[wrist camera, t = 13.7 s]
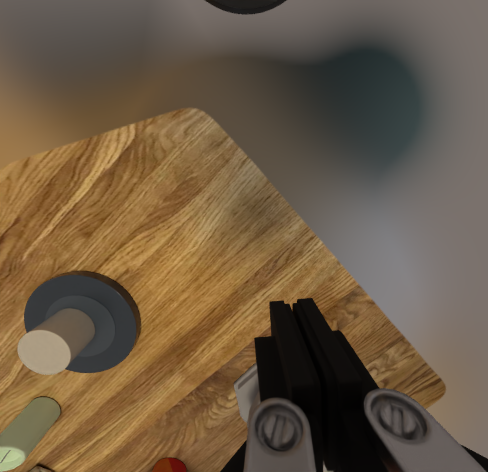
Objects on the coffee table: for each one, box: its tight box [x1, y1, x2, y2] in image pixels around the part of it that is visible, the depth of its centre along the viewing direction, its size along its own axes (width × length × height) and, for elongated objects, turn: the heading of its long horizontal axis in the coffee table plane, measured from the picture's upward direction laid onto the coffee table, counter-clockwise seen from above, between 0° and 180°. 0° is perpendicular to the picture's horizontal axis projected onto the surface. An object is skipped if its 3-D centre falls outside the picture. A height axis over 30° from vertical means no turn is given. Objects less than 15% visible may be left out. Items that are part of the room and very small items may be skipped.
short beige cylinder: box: [18, 308, 95, 375], centre depth 32 cm, size 6×6×5 cm
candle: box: [0, 397, 60, 472], centre depth 35 cm, size 5×5×8 cm
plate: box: [24, 271, 141, 373], centre depth 35 cm, size 16×16×2 cm
